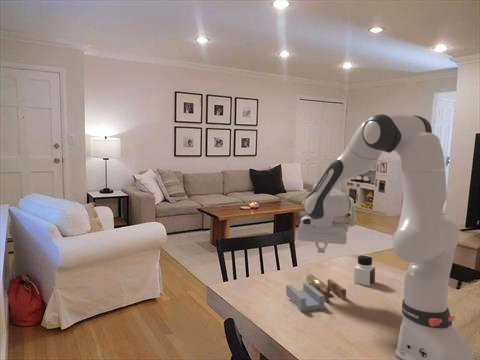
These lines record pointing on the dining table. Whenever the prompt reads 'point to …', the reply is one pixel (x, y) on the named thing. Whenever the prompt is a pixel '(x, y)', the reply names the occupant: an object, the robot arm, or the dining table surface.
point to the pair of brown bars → (333, 287)
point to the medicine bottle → (364, 271)
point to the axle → (313, 278)
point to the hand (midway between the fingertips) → (321, 252)
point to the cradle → (306, 297)
